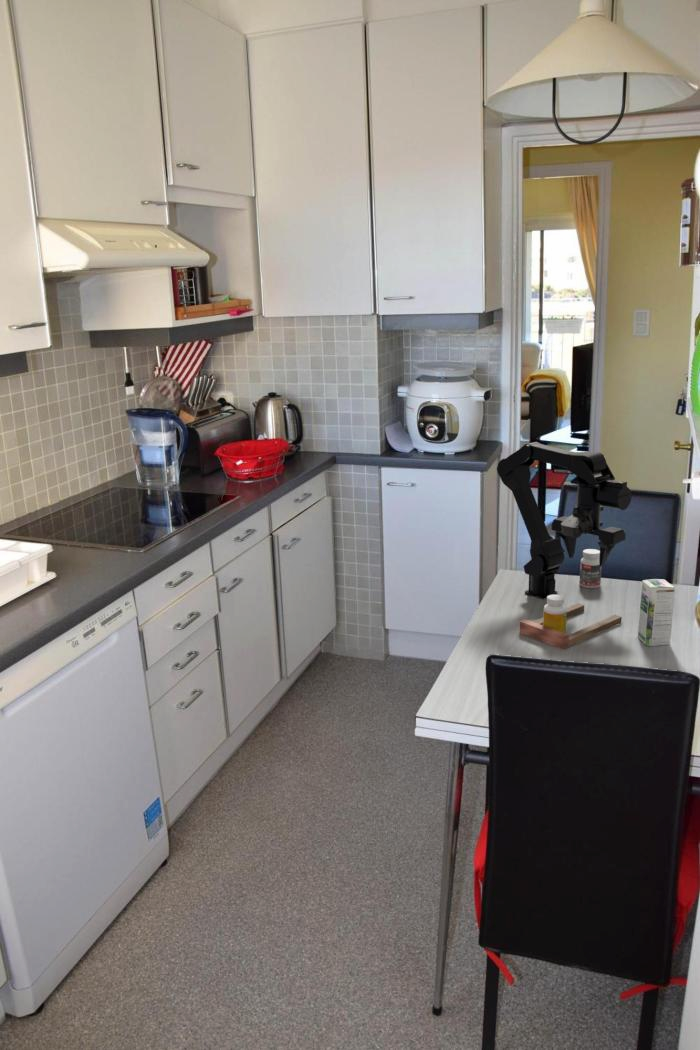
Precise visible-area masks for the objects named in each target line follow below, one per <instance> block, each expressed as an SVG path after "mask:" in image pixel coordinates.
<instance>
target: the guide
mask: <svg viewBox="0 0 700 1050" xmlns="http://www.w3.org/2000/svg"><path fill="white" fill-rule="evenodd" d="M566 608H567V616H566V619H569V618H570V617H573V616H575V615H578V614H580V613H582V612H585V604H581V603H579V602H577V603H574V604H572V605H569V606H566ZM622 619H623V618H622V616H621V615H617V614H612V615H610V616H608V617H606V618H603V619H602V620H599V621H597V622H595V623H592V624H590V625H589V626H586V627H583V628H581V629H578V630H576V631H574V632H572V633H570V634H568V633H566V634H565V633H562V632H560V631H557V630H554V629H551V628H548V627H545V626H543V617H541V618H538V619H535V620H533V621H530V620H528V619H523V620H520V621H519V634H521V635H524V636H526V637H529V638H532V639H533V640H537V641H540V642H543V643H546V644H548V645H551V646H554V647H556V648H559V649H561V650H565V649H568V647H571V646H573V645H576V644H578V643H580V642H582V641H584V640H586V639H589V638H591V637H593V636H596V635H598V634H600V633H602V632H604V631H606V630H608V629H611V628H613V627H615V626H617V625H619V624H622Z"/></svg>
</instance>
